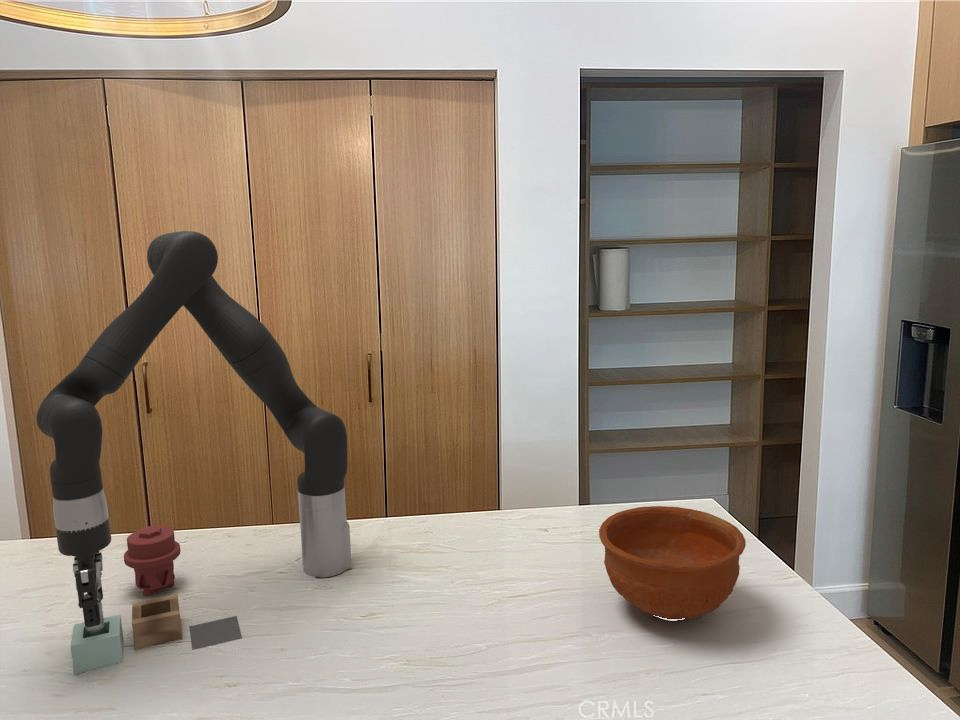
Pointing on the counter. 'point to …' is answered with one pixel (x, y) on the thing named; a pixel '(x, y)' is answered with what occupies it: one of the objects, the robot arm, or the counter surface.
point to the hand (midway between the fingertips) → (94, 612)
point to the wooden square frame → (156, 621)
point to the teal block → (97, 646)
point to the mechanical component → (152, 558)
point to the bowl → (671, 559)
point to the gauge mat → (215, 632)
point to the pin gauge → (100, 628)
